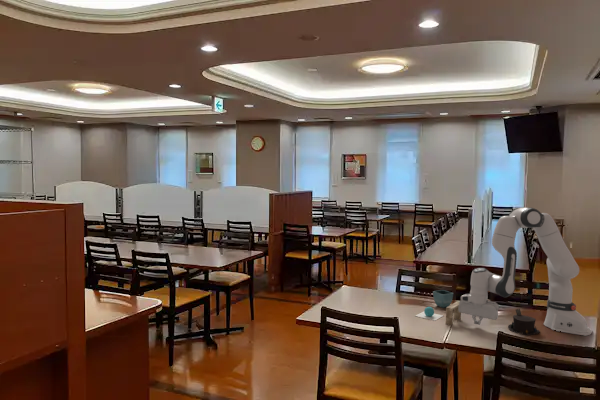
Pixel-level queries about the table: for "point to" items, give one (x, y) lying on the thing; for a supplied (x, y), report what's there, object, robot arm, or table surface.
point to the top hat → (523, 324)
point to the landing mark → (434, 317)
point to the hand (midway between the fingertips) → (477, 324)
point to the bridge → (450, 313)
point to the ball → (429, 311)
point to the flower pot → (442, 298)
